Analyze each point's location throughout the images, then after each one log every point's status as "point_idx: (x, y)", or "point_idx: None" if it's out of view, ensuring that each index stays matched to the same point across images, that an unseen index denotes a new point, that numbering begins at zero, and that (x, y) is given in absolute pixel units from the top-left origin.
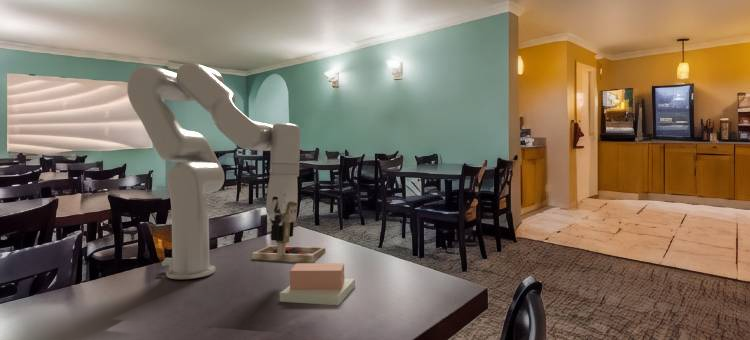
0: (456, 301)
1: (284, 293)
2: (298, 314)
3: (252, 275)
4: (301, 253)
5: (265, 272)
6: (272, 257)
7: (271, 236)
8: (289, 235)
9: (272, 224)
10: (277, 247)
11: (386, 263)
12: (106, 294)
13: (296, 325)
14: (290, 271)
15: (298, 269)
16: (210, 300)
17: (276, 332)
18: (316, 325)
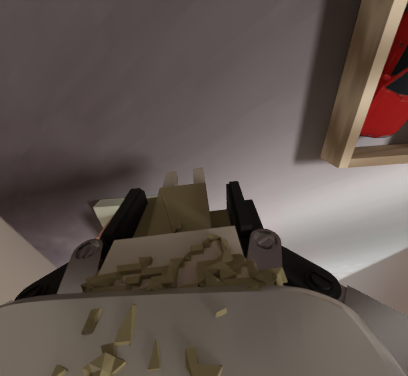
0: None
1: (96, 213)
2: (79, 237)
3: (225, 31)
4: (404, 108)
5: (262, 55)
6: (379, 9)
7: (127, 196)
8: (227, 212)
9: (86, 250)
10: (163, 184)
11: (336, 261)
12: None
13: (54, 246)
14: (97, 238)
15: None
16: (19, 69)
17: (26, 238)
18: (68, 260)
